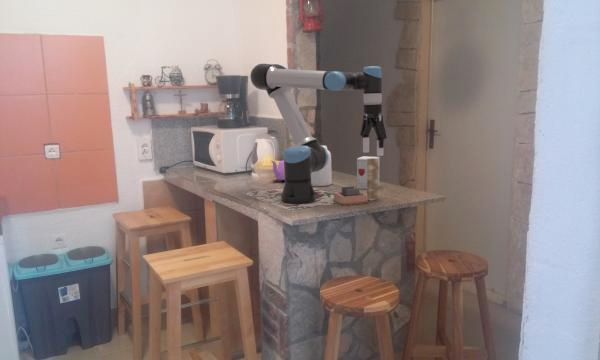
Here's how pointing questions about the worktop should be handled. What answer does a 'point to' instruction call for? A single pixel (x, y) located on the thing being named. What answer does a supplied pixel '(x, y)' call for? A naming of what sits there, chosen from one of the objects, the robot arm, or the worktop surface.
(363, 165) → the supplement box
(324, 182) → the can
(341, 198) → the square copper tray
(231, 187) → the worktop surface
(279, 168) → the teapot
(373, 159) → the bar
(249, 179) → the worktop surface
